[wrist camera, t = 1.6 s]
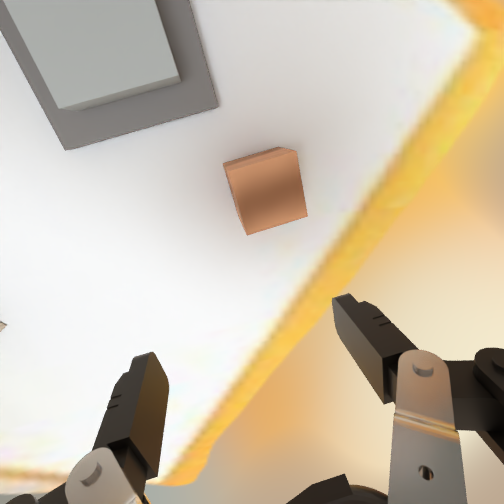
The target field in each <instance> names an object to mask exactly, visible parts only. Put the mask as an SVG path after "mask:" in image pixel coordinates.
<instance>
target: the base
mask: <svg viewBox="0 0 504 504" xmlns="http://www.w3.org/2000/svg"><path fill="white" fill-rule="evenodd" d="M0 30H1V32H2V34H3V36H4V38H5V39H6V41H7V43H8V45H9V47H10V49H11V51H12V53H13V54H14V56H15V58H16V60H17V62H18V64H19V66H20V67H21V69H22V71H23V73H24V75H25V77H26V79H27V80H28V82H29V84H30V86H31V88H32V90H33V92H34V94H35V95H36V97H37V99H38V101H39V103H40V105H41V107H42V108H43V110H44V112H45V114H46V116H47V118H48V120H49V122H50V123H51V125H52V127H53V129H54V131H55V133H56V135H57V136H58V138H59V140H60V142H61V144H62V146H63V148H64V149H65V150H71V149H75V148H79V147H82V146H86V145H89V144H92V143H96V142H99V141H103V140H106V139H110V138H113V137H117V136H120V135H124V134H127V133H131V132H134V131H138V130H141V129H144V128H148V127H151V126H155V125H158V124H162V123H165V122H169V121H172V120H176V119H179V118H183V117H186V116H190V115H193V114H197V113H200V112H203V111H207V110H210V109H214V108H217V107H218V104H217V100H216V97H215V93H214V89H213V86H212V82H211V79H210V75H209V71H208V68H207V64H206V61H205V57H204V54H203V50H202V46H201V43H200V39H199V36H198V32H197V28H196V25H195V21H194V18H193V14H192V10H191V7H190V3H189V0H0Z"/></svg>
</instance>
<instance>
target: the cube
mask: <svg viewBox="0 0 504 504" xmlns="http://www.w3.org/2000/svg"><path fill="white" fill-rule="evenodd" d="M223 166H224V169H225V173H226V176H227V179H228V183H229V186H230V189H231V193H232V196H233V199H234V203H235V206H236V210H237V213H238V216H239V219H240V221H241V223H242V225H243V228H244V230H245V232H246V234H247V235H250V234H253V233H256V232H259V231H263V230H266V229H269V228H272V227H275V226H279V225H282V224H285V223H288V222H291V221H294V220H298V219H301V218H304V217H307V216H308V215H307V209H306V203H305V198H304V192H303V186H302V181H301V175H300V169H299V164H298V158H297V153H296V151H294V150H290V149H285V148H281V147H276V148H273V149H269V150H266V151H263V152H259V153H256V154H253V155H249V156H246V157H243V158H239V159H236V160H233V161H229V162H226V163H223Z"/></svg>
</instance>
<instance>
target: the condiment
mask: <svg viewBox="0 0 504 504" xmlns="http://www.w3.org/2000/svg"><path fill="white" fill-rule="evenodd" d="M5 326H6V325H5V324H3V323H0V332H1V331H2V329H3V328H4V327H5Z"/></svg>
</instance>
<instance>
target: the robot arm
mask: <svg viewBox="0 0 504 504" xmlns="http://www.w3.org/2000/svg"><path fill="white" fill-rule="evenodd" d="M332 305H333V313H334V321H335V327H336V330H337V333H338V335H339V337H340V339H341V340H342V342H343V344H344V345H345V347H346V348H347V350H348V351H349V352H350V354H351V356H352V357H353V359H354V360H355V362H356V363H357V365H358V366H359V368H360V369H361V371H362V372H363V374H364V375H365V377H366V378H367V380H368V381H369V383H370V384H371V386H372V387H373V389H374V390H375V392H376V393H377V395H378V396H379V398H380V399H381V401H382V402H383V404H387V403H390V402H394V403H395V405H396V407H395V413H394V421H393V435H392V449H391V463H390V478H389V492H388V496H387V495H386V494H384V493H382V492H380V491H377V490H375V489H372V488H369V487H365V486H360V485H349V483H348V480H347V478H346V476H345V474H342V475H339V476H336V477H333V478H330V479H327V480H324V481H321V482H318V483H315V484H312V485H311V486H309V487H308V488H307V489H306V490H304V491H303V492H301V493H300V494H299V495H297V496H296V497H295V498H294V499H292V500H290V501H289V502H288V503H286V504H467V497H466V488H465V480H464V471H463V462H462V454H461V446H460V438H459V433H458V431H456V430H471V431H476V432H477V433H478V434H479V436H480V437H481V438H482V439H483V440H484V442H485V443H486V444H487V445H488V446H489V447H490V449H491V450H492V451H493V452H494V453H495V455H496V456H497V457H498V458H499V459H500V461H501V462H502V463H503V464H504V349H500V348H484V349H481V350H479V351H478V352H477V353H476V355H475V359H474V360H473V361H472V360H470V361H446V360H442V359H441V358H439V357H438V356H437V355H435V354H433V353H430V352H427V351H424V350H419V349H418V348H417V347H416V346H415V345H414V344H413V343H412V342H411V341H410V340H409V339H408V338H407V337H406V336H405V335H404V334H403V333H402V332H401V331H400V330H399V329H398V328H397V327H396V326H395V325H394V324H393V323H391V321H390V320H389V319H388V318H387V317H386V316H385V315H384V314H383V313H382V312H381V311H380V310H379V309H378V308H377V307H376V306H374V305H372V304H370V303H368V302H366V301H363V302H360V303H358V302H357V301H356V300H355V298H354V297H353V296H352V295H351V294H349V293H348V294H345V295H341V296H338V297H335V298H332ZM168 395H169V382H168V378H167V376H166V374H165V372H164V370H163V368H162V366H161V364H160V362H159V360H158V359H157V357H156V355H155V353H154V352H149V353H146V354H143V355H139V356H136V357H134V358H133V360H132V363H131V366H130V369H129V372H126V373H123V375H122V376H121V378H120V379H119V380H118V382H117V383H116V384H115V386H114V389H113V392H112V395H111V400H110V401H109V403H108V406H107V410H106V412H105V415H104V418H103V421H102V423H101V426H100V429H99V432H98V435H97V438H96V440H95V443H94V446H93V449H92V451H91V452H90V453H88V454H87V455H85V456H84V457H83V458H82V459H81V460H80V461H79V462H78V463H77V464H76V466H75V467H74V468H73V470H72V471H71V473H70V475H69V477H68V479H67V481H66V482H65V483H64V484H62V485H60V486H59V487H57V488H56V489H54V490H53V491H51V492H49V493H48V494H46V495H45V496H43V497H42V498H40V499H38V500H37V499H36V498H35V497H33V496H32V495H31V494H23V495H19V496H17V497H15V498H14V499H12V500H10V501H9V502H8V503H6V504H151V503H150V501H149V500H148V498H147V496H146V495H145V493H144V489H145V483H146V480H148V479H152V478H155V477H158V469H159V462H160V455H161V447H162V440H163V432H164V425H165V417H166V410H167V402H168Z"/></svg>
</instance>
